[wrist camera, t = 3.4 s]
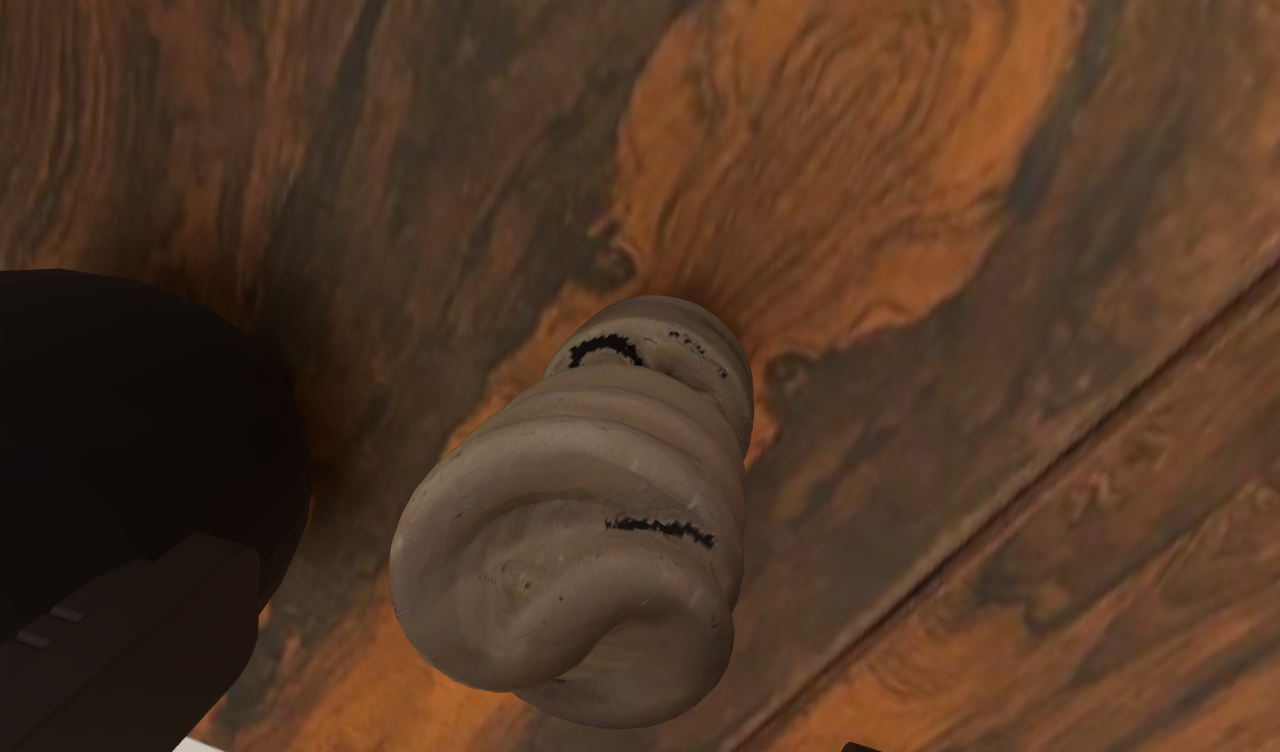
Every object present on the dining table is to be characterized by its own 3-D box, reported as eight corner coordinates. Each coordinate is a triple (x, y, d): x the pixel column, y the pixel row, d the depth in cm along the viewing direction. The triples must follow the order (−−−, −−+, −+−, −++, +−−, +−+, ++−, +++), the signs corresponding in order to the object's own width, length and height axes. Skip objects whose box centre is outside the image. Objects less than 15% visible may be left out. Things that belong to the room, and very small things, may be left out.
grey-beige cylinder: (558, 328, 24) (285, 641, 11) (663, 204, 22) (490, 397, 9) (684, 434, 25) (577, 857, 11) (797, 323, 23) (834, 678, 9)
